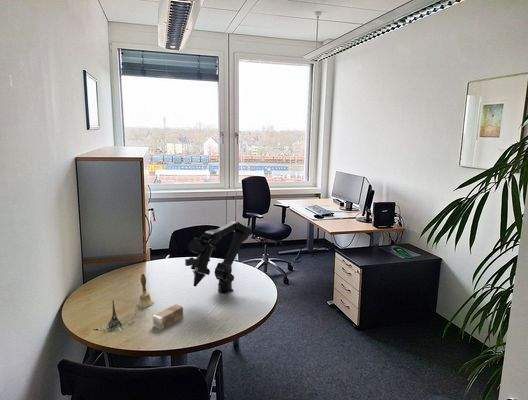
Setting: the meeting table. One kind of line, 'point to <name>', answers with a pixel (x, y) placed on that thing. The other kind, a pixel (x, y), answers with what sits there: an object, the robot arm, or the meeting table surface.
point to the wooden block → (167, 316)
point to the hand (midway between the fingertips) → (194, 286)
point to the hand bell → (144, 295)
